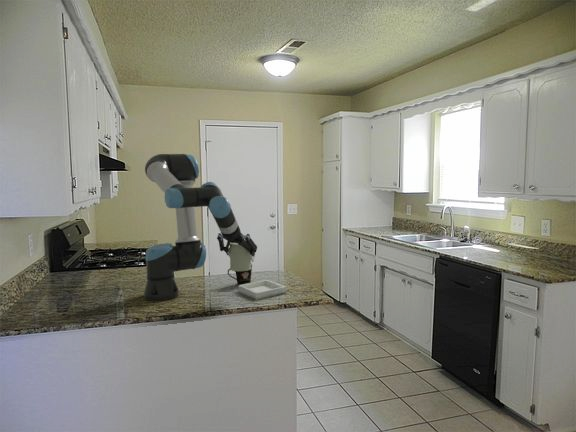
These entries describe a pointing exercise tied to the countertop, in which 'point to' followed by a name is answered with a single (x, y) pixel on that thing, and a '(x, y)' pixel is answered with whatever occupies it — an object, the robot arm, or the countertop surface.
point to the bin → (262, 289)
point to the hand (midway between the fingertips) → (243, 258)
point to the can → (239, 258)
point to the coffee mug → (242, 276)
